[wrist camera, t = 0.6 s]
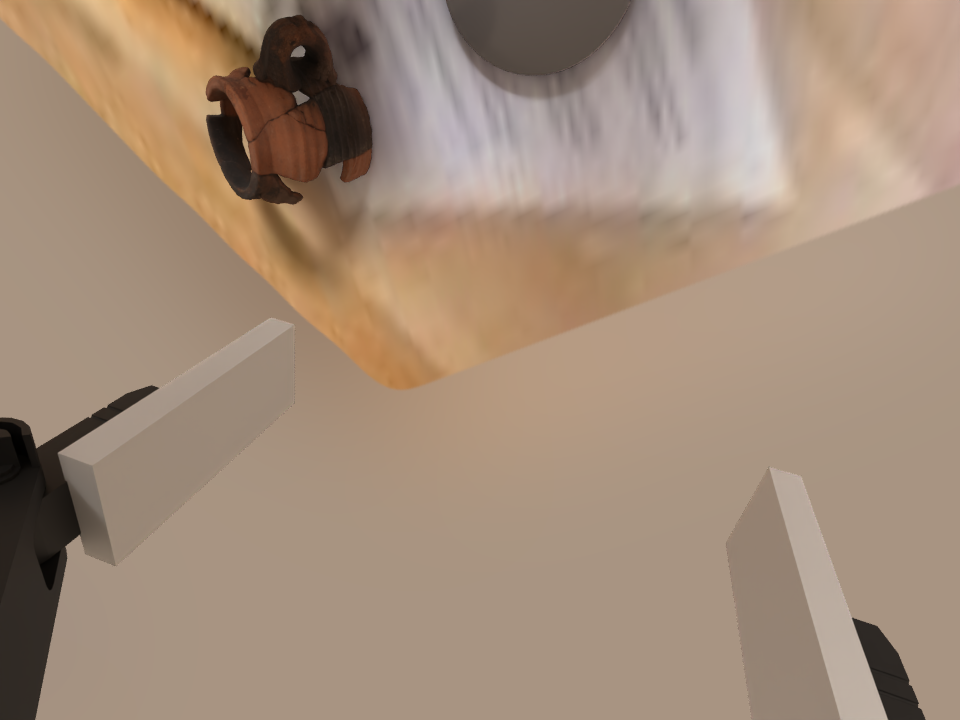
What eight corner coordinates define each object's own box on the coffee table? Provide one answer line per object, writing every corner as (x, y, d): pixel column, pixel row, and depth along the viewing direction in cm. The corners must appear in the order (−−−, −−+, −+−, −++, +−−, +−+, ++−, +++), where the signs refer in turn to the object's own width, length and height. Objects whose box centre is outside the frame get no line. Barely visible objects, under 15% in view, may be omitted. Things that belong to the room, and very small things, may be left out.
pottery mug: (371, 216, 41) (265, 241, 36) (305, 149, 45) (200, 164, 40) (397, 44, 33) (262, 48, 28) (312, -21, 36) (180, -29, 31)
